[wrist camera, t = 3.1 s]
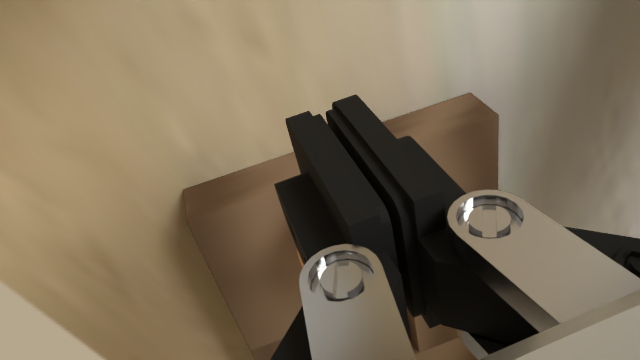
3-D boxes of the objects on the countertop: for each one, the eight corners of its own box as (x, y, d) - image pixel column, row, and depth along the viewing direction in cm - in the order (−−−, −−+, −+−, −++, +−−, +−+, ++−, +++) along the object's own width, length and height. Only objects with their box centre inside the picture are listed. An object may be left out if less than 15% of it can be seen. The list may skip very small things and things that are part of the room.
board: (470, 92, 24) (498, 115, 22) (476, 323, 35) (496, 351, 33) (183, 189, 23) (186, 222, 21) (283, 398, 33) (291, 433, 31)
